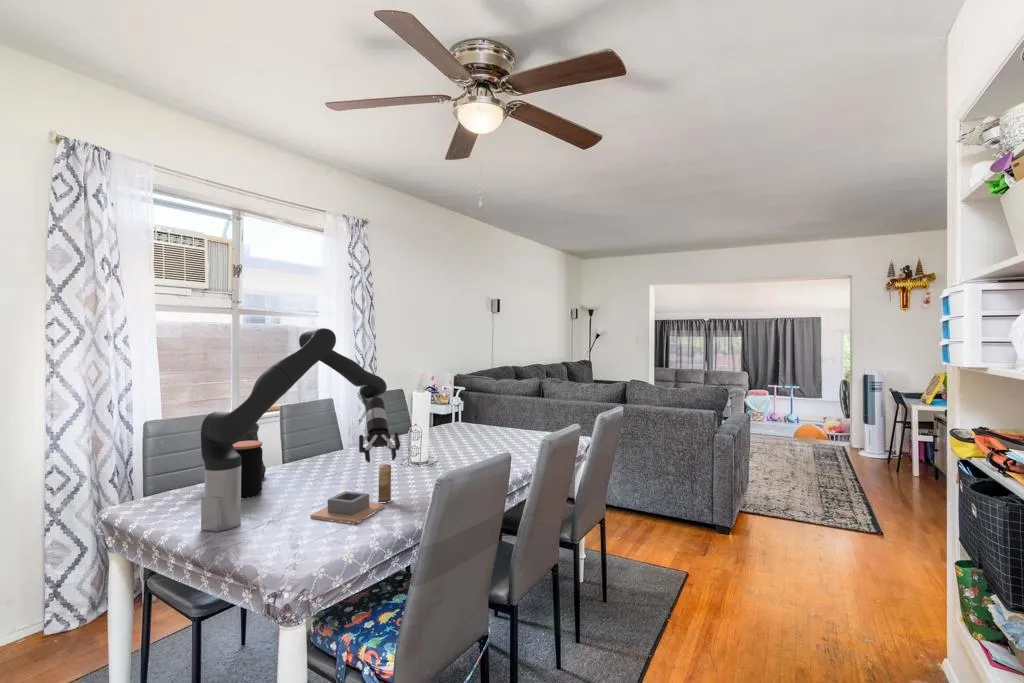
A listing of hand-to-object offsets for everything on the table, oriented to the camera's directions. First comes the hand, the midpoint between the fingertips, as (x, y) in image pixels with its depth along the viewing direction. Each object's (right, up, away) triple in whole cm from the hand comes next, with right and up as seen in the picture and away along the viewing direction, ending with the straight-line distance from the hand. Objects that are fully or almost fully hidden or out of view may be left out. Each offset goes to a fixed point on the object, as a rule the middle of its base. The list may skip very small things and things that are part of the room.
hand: (381, 460), depth 174 cm
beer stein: (-59, -12, +16) cm, 62 cm away
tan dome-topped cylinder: (+3, -12, -7) cm, 14 cm away
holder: (-6, -12, -18) cm, 22 cm away
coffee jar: (-48, -12, -1) cm, 49 cm away
